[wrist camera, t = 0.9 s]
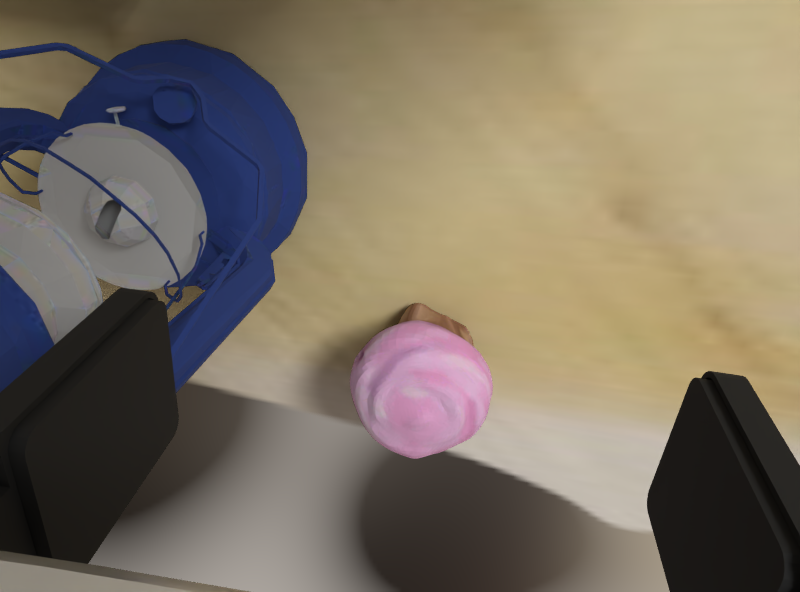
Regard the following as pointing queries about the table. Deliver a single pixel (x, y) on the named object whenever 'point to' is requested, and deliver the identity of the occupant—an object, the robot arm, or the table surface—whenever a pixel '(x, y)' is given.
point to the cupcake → (421, 384)
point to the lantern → (148, 198)
